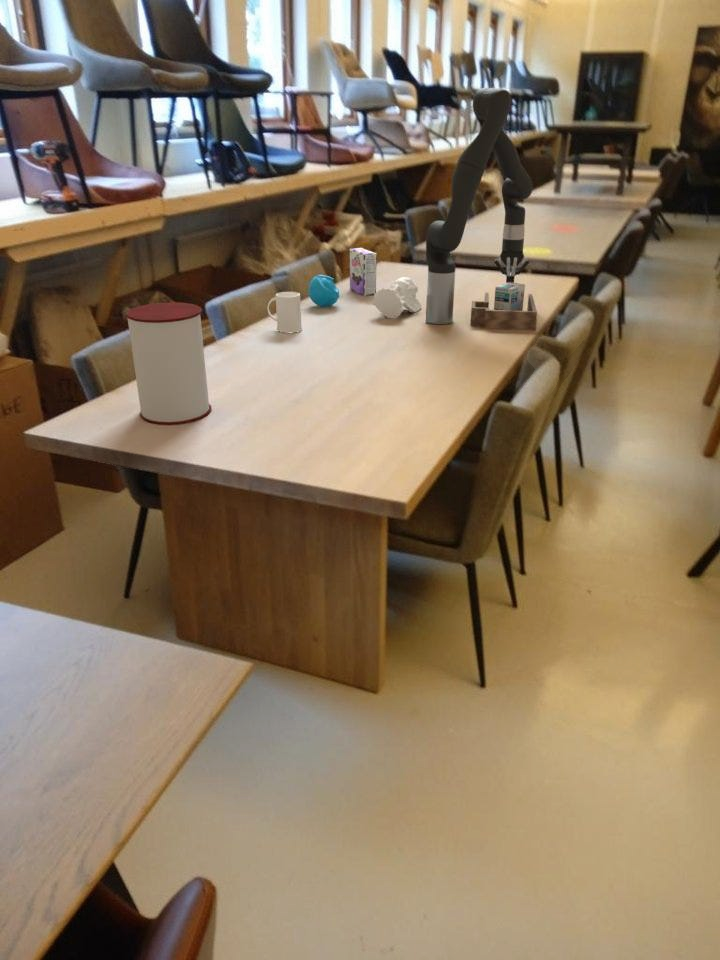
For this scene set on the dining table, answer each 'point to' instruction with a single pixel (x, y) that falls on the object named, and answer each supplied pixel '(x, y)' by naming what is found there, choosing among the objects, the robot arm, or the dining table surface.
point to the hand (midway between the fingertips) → (509, 285)
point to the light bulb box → (509, 296)
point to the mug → (287, 311)
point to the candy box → (363, 271)
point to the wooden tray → (503, 316)
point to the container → (169, 362)
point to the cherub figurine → (397, 298)
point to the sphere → (323, 291)
